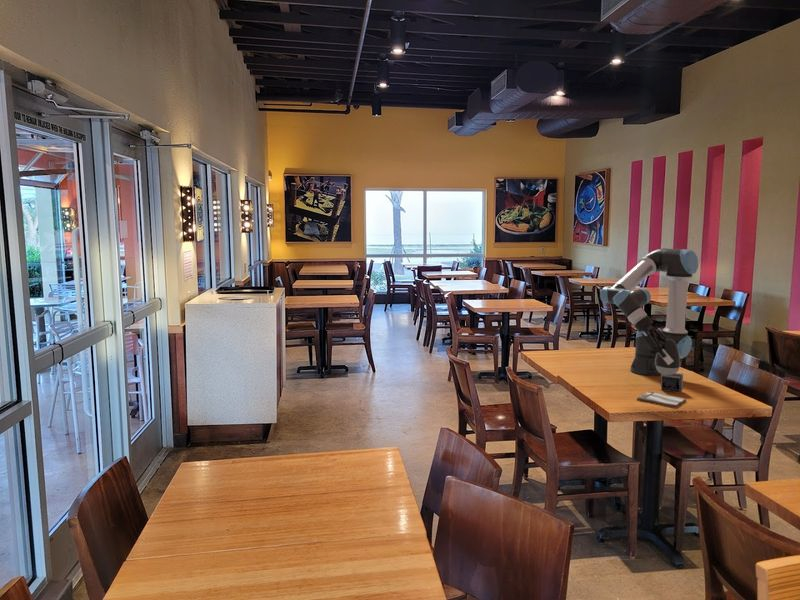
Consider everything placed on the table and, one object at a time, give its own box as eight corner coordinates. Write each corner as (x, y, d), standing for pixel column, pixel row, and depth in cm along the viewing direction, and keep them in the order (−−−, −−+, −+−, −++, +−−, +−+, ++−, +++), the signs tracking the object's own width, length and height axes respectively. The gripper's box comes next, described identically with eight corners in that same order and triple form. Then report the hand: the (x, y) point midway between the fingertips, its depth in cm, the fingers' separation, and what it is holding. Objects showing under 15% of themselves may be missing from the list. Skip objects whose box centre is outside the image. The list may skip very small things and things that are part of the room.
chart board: (648, 393, 275) (648, 390, 275) (685, 401, 265) (685, 398, 265) (637, 400, 265) (637, 397, 265) (675, 408, 255) (675, 405, 254)
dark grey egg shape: (649, 370, 267) (651, 336, 265) (671, 370, 268) (674, 336, 266) (661, 376, 257) (663, 341, 255) (684, 376, 258) (687, 341, 256)
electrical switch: (682, 391, 280) (683, 372, 278) (680, 395, 276) (682, 375, 274) (661, 388, 285) (662, 369, 283) (659, 391, 281) (659, 372, 279)
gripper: (643, 322, 278) (676, 361, 270) (624, 328, 262) (659, 370, 253) (656, 312, 274) (690, 352, 266) (637, 317, 258) (673, 360, 249)
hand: (675, 361), depth 260 cm, fingers closed on dark grey egg shape, 9 cm apart
